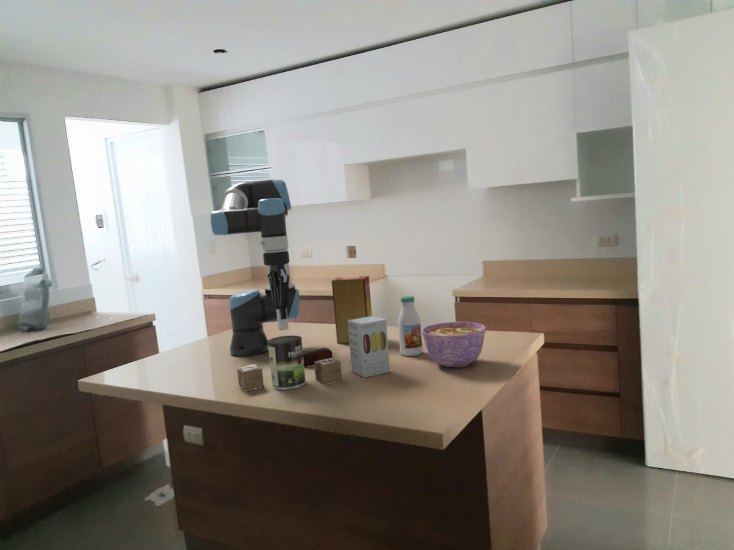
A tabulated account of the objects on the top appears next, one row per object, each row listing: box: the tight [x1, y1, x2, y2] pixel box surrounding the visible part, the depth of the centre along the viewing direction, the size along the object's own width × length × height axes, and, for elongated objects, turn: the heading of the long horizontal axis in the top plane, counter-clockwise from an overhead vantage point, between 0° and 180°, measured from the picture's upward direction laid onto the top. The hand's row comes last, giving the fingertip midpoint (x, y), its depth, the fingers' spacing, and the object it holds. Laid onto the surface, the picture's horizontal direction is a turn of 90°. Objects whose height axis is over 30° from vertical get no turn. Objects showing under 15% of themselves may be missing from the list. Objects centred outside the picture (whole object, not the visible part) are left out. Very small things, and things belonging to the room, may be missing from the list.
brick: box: [303, 347, 334, 368], centre depth 190 cm, size 11×4×5 cm, turn 121°
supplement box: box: [348, 315, 391, 379], centre depth 174 cm, size 10×9×17 cm
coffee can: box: [267, 335, 307, 391], centre depth 168 cm, size 10×10×14 cm
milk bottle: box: [397, 295, 424, 357], centre depth 191 cm, size 8×8×20 cm
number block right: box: [314, 357, 343, 386], centre depth 169 cm, size 6×6×6 cm
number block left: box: [236, 363, 265, 392], centre depth 169 cm, size 6×6×6 cm
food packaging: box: [331, 275, 373, 344], centre depth 218 cm, size 13×9×25 cm
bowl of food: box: [421, 321, 487, 368], centre depth 175 cm, size 20×20×12 cm
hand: (283, 329), depth 167 cm, fingers closed
